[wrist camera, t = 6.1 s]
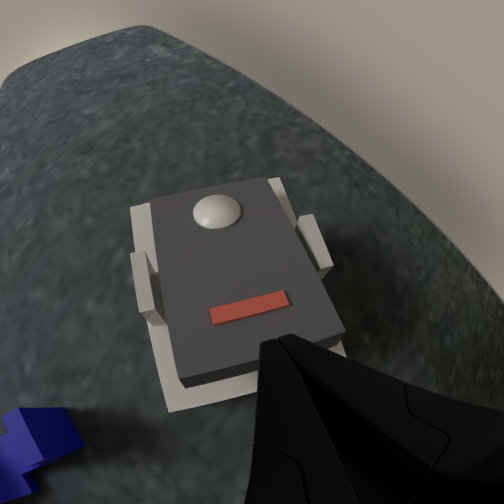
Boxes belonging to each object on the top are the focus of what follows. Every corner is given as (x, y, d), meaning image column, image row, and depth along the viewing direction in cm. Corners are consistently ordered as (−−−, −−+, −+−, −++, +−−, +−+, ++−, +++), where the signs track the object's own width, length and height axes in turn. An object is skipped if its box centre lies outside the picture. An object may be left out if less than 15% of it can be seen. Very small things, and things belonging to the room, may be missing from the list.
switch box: (307, 371, 20) (371, 354, 11) (186, 404, 18) (157, 416, 9) (263, 236, 23) (287, 147, 15) (154, 260, 22) (118, 178, 13)
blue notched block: (-1, 503, 12) (-45, 517, 6) (-27, 454, 13) (-74, 457, 8) (99, 464, 16) (59, 484, 10) (65, 407, 17) (18, 407, 11)
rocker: (337, 345, 11) (347, 329, 10) (184, 388, 10) (177, 377, 9) (264, 195, 16) (266, 174, 15) (154, 218, 15) (148, 197, 14)
